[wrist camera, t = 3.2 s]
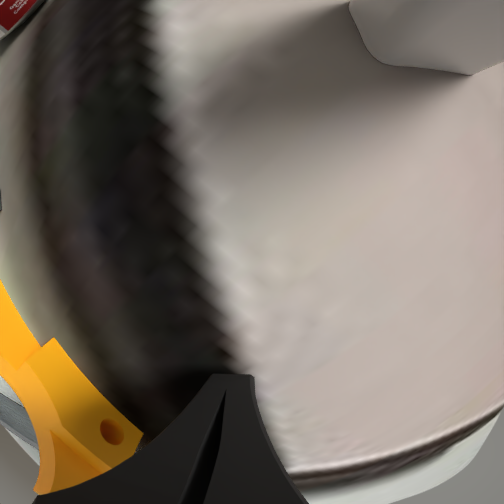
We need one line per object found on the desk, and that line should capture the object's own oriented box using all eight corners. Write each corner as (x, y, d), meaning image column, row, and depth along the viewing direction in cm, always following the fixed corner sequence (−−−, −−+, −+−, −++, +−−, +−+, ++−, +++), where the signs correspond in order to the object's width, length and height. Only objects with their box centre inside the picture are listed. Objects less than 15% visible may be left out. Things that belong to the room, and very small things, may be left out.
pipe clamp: (144, 430, 11) (101, 527, 4) (103, 439, 11) (63, 512, 5) (1, 239, 9) (-96, 277, 2) (-17, 281, 9) (-89, 320, 3)
